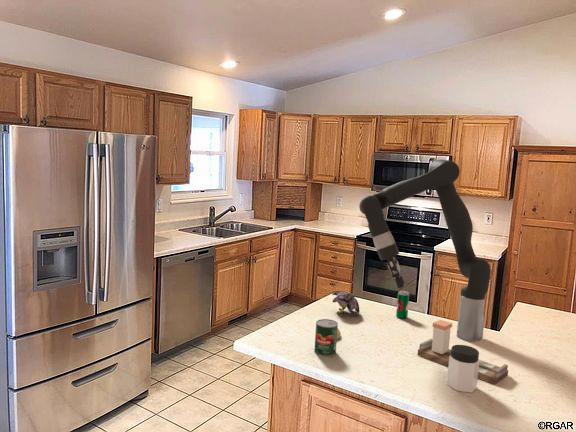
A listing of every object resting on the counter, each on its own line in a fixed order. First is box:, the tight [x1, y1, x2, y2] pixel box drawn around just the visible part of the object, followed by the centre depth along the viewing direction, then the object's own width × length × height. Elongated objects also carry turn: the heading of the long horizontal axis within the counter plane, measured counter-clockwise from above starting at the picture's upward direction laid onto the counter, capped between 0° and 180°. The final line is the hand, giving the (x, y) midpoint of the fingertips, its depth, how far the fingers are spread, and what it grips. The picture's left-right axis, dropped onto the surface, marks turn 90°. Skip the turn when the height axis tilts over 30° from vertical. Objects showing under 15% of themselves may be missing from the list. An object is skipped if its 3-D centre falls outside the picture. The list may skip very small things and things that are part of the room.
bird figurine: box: [331, 290, 360, 317], centre depth 204 cm, size 15×12×15 cm
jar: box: [446, 344, 480, 394], centre depth 141 cm, size 9×8×12 cm
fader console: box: [417, 338, 509, 386], centre depth 156 cm, size 28×10×4 cm, turn 44°
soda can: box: [395, 290, 410, 320], centre depth 203 cm, size 5×5×12 cm
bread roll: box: [337, 328, 342, 340], centre depth 177 cm, size 8×9×4 cm
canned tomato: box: [313, 318, 339, 358], centre depth 161 cm, size 8×8×11 cm
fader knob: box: [432, 319, 453, 354], centre depth 162 cm, size 5×6×10 cm
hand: (401, 285), depth 168 cm, fingers open, 8 cm apart
